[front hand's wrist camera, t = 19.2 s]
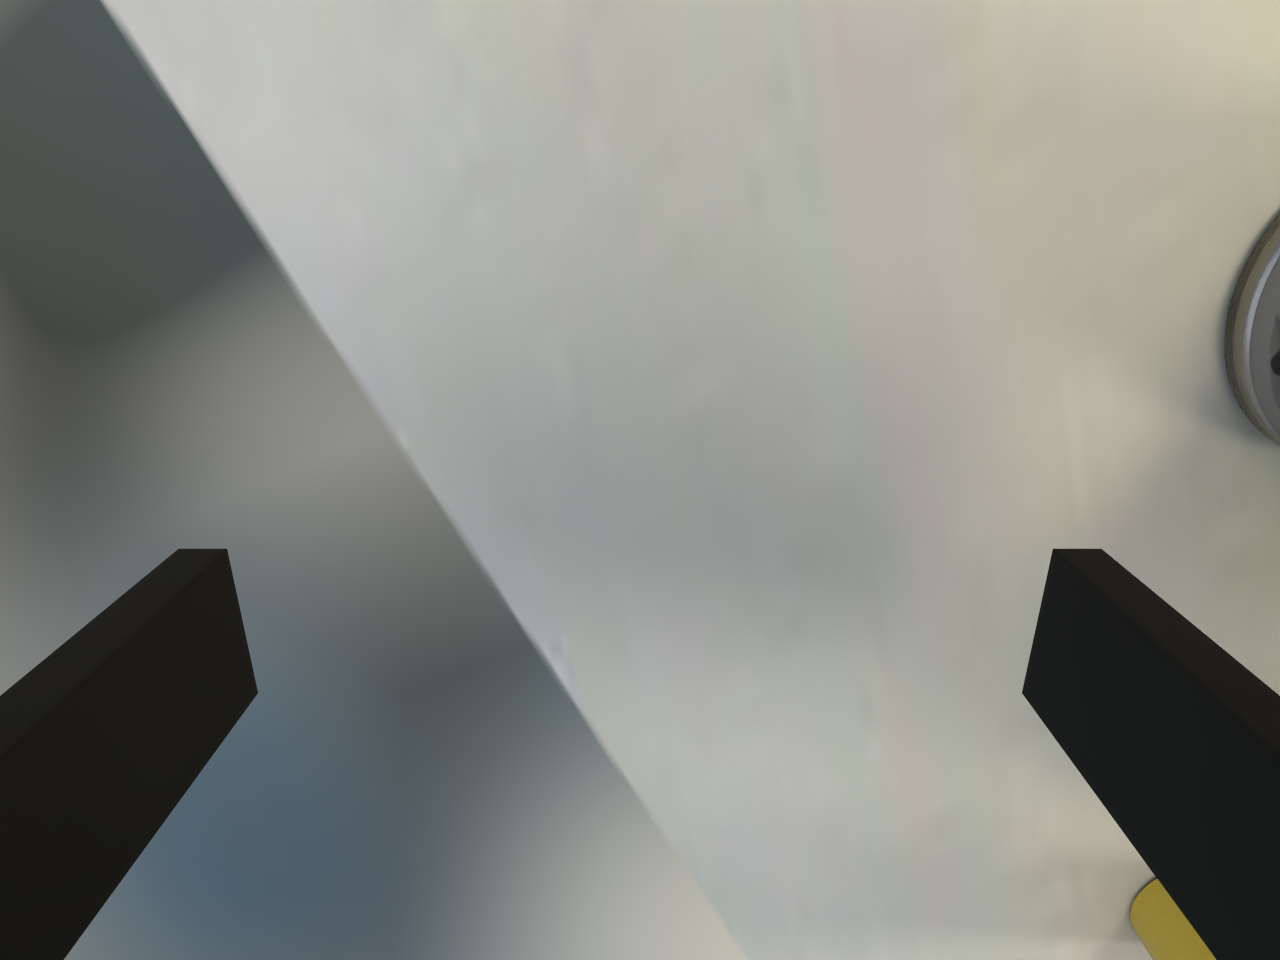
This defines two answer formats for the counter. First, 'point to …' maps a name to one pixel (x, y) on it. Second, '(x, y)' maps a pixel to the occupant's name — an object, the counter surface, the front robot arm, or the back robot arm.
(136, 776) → the front robot arm
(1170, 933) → the tin
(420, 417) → the counter surface
